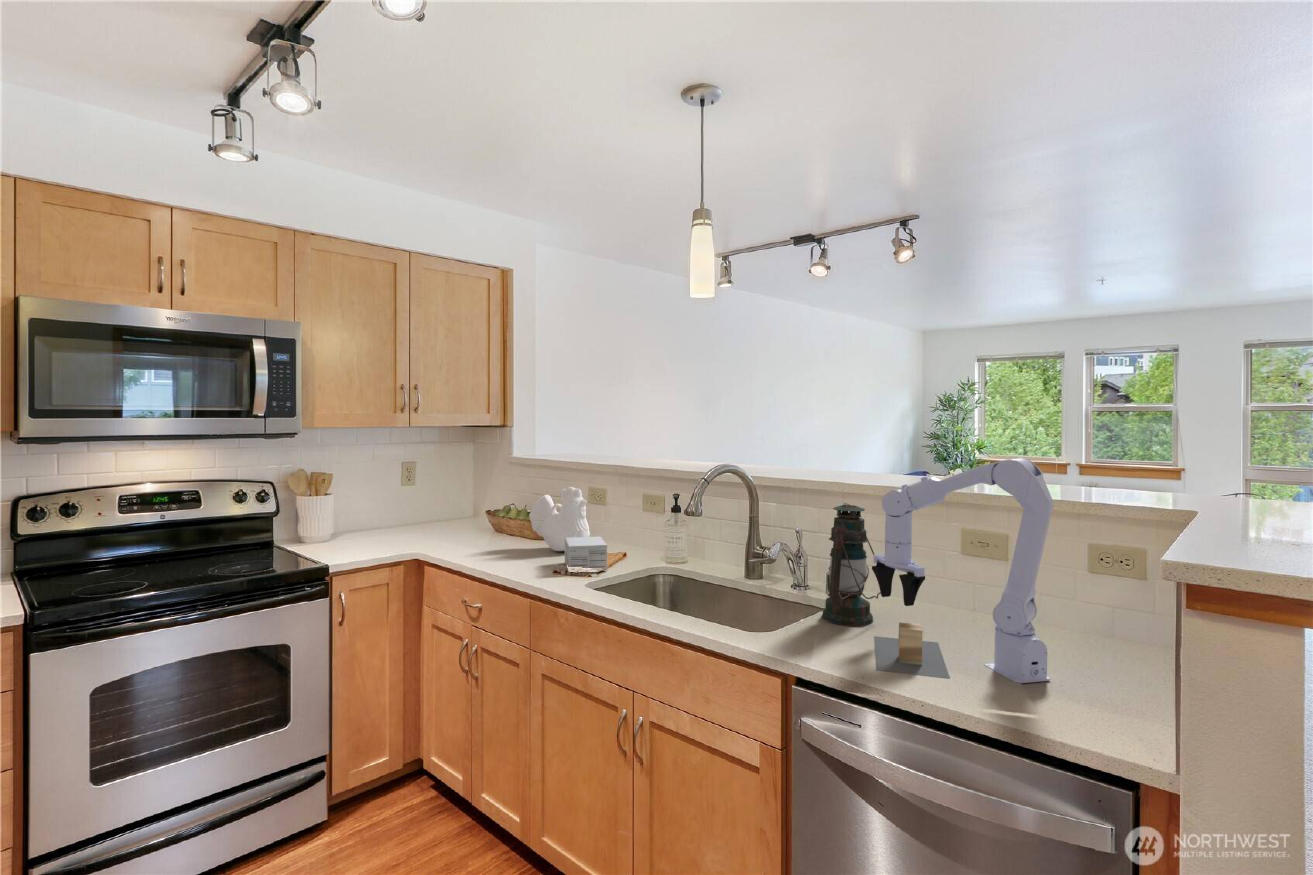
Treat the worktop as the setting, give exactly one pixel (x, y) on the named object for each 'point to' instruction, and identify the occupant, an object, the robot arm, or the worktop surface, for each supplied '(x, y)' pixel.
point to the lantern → (848, 570)
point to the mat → (890, 663)
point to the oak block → (910, 644)
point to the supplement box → (586, 552)
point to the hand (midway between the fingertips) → (897, 600)
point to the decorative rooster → (560, 518)
